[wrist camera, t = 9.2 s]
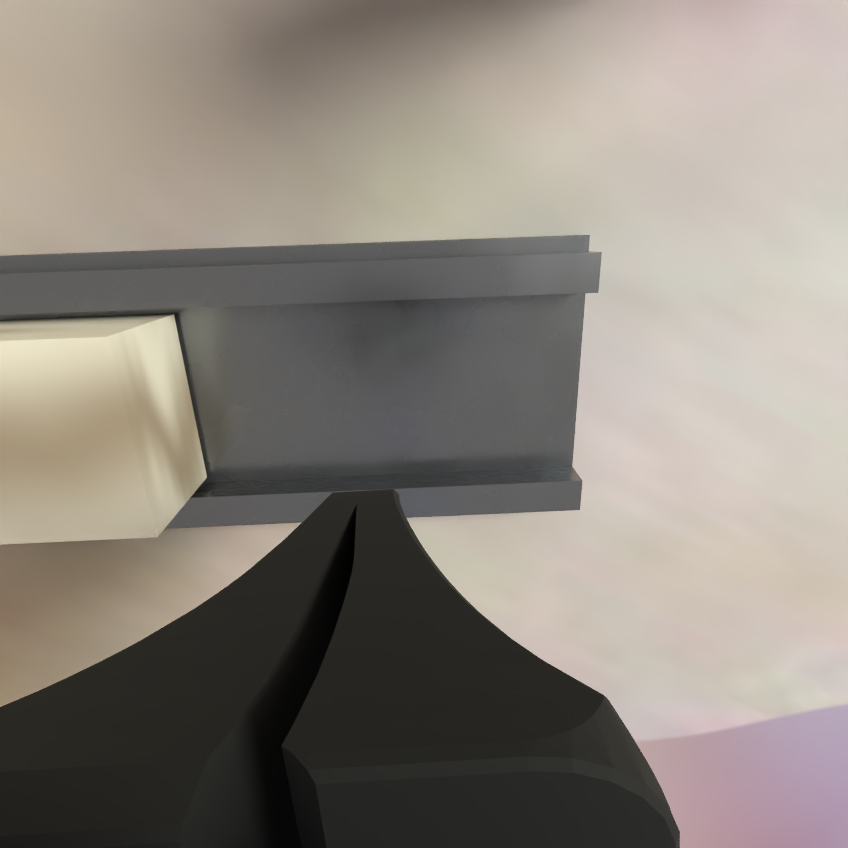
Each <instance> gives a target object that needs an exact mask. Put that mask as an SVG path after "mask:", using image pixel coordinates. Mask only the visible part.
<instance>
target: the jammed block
mask: <svg viewBox="0 0 848 848" xmlns="http://www.w3.org/2000/svg"><path fill="white" fill-rule="evenodd" d="M206 478H207V475H206V470H205V465H204V460H203V455H202V450H201V445H200V440H199V436H198V431H197V426H196V421H195V416H194V411H193V406H192V401H191V396H190V391H189V386H188V381H187V376H186V372H185V367H184V362H183V357H182V352H181V347H180V342H179V337H178V332H177V327H176V322H175V317H174V314H169V315H142V316H116V317H90V318H63V319H37V320H10V321H0V545H1V544H23V543H45V542H67V541H89V540H111V539H133V538H155V537H158V536H159V535H160V534H161V532H162V531H163V530H164V529H165V527H166V526H167V525H168V524H169V523H170V521H171V520H172V519H173V518H174V517H175V515H176V514H177V513H178V512H179V511H180V509H181V508H182V507H183V506H184V505H185V503H186V502H187V501H188V500H189V499H190V497H191V496H192V495H193V494H194V493H195V491H196V490H197V489H198V488H199V487H200V485H201V484H202V483H203V482H204V480H205V479H206Z"/></svg>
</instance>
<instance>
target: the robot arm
mask: <svg viewBox="0 0 848 848" xmlns="http://www.w3.org/2000/svg"><path fill="white" fill-rule="evenodd" d="M679 834H680V832H679V830H678V827H677V825H676V822H675V820H674V818H673V816H672V813H671V810H670V807H669V805H668V803H667V800H666V798H665V796H664V793H663V791H662V789H661V787H660V785H659V783H658V781H657V779H656V778H655V775H654V773H653V772H652V770H651V768H650V766H649V764H648V762H647V761H646V759H645V757H644V756H643V754H642V752H641V751H640V749H639V748H638V746H637V744H636V742H635V741H634V739H633V737H632V736H631V734H630V733H629V731H628V729H627V728H626V726H625V725H624V723H623V722H622V720H621V719H620V717H619V715H618V714H617V712H616V711H615V709H614V708H613V706H612V705H611V703H610V702H609V700H608V699H607V698H606V697H605V696H604V695H602V694H601V693H599V692H597V691H595V690H594V689H592V688H590V687H588V686H587V685H585V684H583V683H581V682H580V681H578V680H576V679H574V678H573V677H571V676H569V675H567V674H566V673H564V672H562V671H560V670H559V669H557V668H555V667H553V666H552V665H550V664H548V663H546V662H545V661H543V660H542V659H540V658H538V657H537V656H535V655H534V654H533V653H531V652H530V651H528V650H527V649H525V648H524V647H522V646H521V645H520V644H518V643H517V642H515V641H514V640H512V639H511V638H510V637H508V636H507V635H506V634H505V633H504V632H502V631H501V630H500V629H499V628H498V627H496V626H495V625H494V624H493V623H491V622H490V621H489V620H488V619H487V618H485V617H484V616H483V615H482V614H481V613H479V612H478V611H477V610H476V609H475V608H474V607H473V606H472V605H471V604H470V603H469V602H468V601H467V600H466V599H465V598H464V597H463V596H462V595H461V594H460V593H459V592H458V591H457V590H456V588H455V587H454V586H453V585H452V584H451V583H450V582H449V581H448V580H447V578H446V577H445V576H444V575H443V574H442V572H441V571H440V570H439V569H438V567H437V566H436V565H435V563H434V562H433V561H432V559H431V558H430V557H429V555H428V554H427V553H426V551H425V550H424V548H423V547H422V545H421V543H420V542H419V540H418V538H417V537H416V535H415V533H414V532H413V530H412V528H411V527H410V525H409V523H408V521H407V519H406V516H405V514H404V512H403V510H402V507H401V504H400V498H399V494H398V493H397V492H396V491H395V490H394V489H388V490H370V491H351V492H333V493H332V494H330V495H329V496H328V497H327V498H326V499H325V500H324V501H323V502H322V503H321V504H320V505H319V506H318V507H317V508H316V509H315V510H314V511H313V512H312V513H311V514H310V515H309V516H308V517H307V518H306V519H305V520H304V521H303V522H302V523H301V524H300V525H299V526H298V527H297V528H296V529H295V530H294V531H293V532H292V533H291V534H290V535H289V536H288V537H287V538H286V539H285V540H283V541H282V542H281V543H280V544H279V545H278V546H276V547H275V548H274V549H273V550H272V551H271V552H269V553H268V554H267V555H266V556H265V557H264V558H262V559H261V560H260V561H259V562H258V563H257V564H255V565H254V566H253V567H252V568H251V569H250V570H248V571H247V572H246V573H244V574H243V575H242V576H241V577H239V578H238V579H237V580H235V581H234V582H232V583H231V584H230V585H228V586H227V587H226V588H224V589H223V590H221V591H220V592H218V593H217V594H216V595H214V596H213V597H211V598H210V599H208V600H207V601H205V602H204V603H202V604H201V605H199V606H198V607H196V608H195V609H193V610H192V611H190V612H188V613H187V614H185V615H183V616H181V617H180V618H178V619H176V620H175V621H173V622H171V623H170V624H168V625H166V626H165V627H163V628H161V629H159V630H158V631H156V632H154V633H153V634H151V635H149V636H148V637H146V638H144V639H143V640H141V641H139V642H137V643H135V644H134V645H132V646H130V647H128V648H126V649H124V650H122V651H120V652H118V653H116V654H114V655H113V656H111V657H109V658H107V659H105V660H103V661H101V662H99V663H97V664H95V665H93V666H91V667H89V668H87V669H84V670H82V671H80V672H78V673H76V674H74V675H72V676H70V677H68V678H66V679H64V680H62V681H59V682H57V683H55V684H53V685H51V686H48V687H46V688H44V689H42V690H40V691H38V692H35V693H33V694H30V695H28V696H26V697H23V698H21V699H18V700H16V701H14V702H11V703H9V704H7V705H4V706H2V707H0V848H680V847H679V845H680V844H679V842H680V840H679V839H680V835H679Z"/></svg>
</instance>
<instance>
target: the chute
mask: <svg viewBox="0 0 848 848" xmlns="http://www.w3.org/2000/svg"><path fill="white" fill-rule="evenodd" d="M589 237H590V235H572V236H544V237H516V238H488V239H460V240H431V241H403V242H375V243H347V244H319V245H291V246H263V247H235V248H207V249H179V250H151V251H123V252H95V253H67V254H39V255H11V256H0V321H10V320H37V319H63V318H90V317H116V316H142V315H169V314H174V317H175V322H176V327H177V332H178V337H179V342H180V347H181V352H182V357H183V362H184V367H185V372H186V376H187V381H188V386H189V391H190V396H191V401H192V406H193V411H194V416H195V421H196V426H197V431H198V436H199V440H200V445H201V450H202V455H203V460H204V465H205V470H206V475H207V478H206V479H205V480H204V482H203V483H202V484H201V485H200V487H199V488H198V489H197V490H196V491H195V493H194V494H193V495H192V496H191V497H190V499H189V500H188V501H187V502H186V503H185V505H184V506H183V507H182V508H181V509H180V511H179V512H178V513H177V514H176V515H175V517H174V518H173V519H172V520H171V521H170V523H169V524H168V525H167V526H166V527H165V529H166V528H188V527H210V526H233V525H255V524H277V523H299V522H303V521H304V520H305V519H306V518H307V517H308V516H309V515H310V514H311V513H312V512H313V511H314V510H315V509H316V508H317V507H318V506H319V505H320V504H321V503H322V502H323V501H324V500H325V499H326V498H327V497H328V496H329V495H330V494H332V493H333V492H351V491H370V490H388V489H394V490H395V491H396V492H397V493H398V494H399V498H400V504H401V507H402V510H403V512H404V514H405V516H406V518H410V517H432V516H454V515H476V514H499V513H521V512H543V511H565V510H580V501H581V490H582V480H581V478H580V477H579V475H578V474H577V473H576V471H575V470H574V468H573V467H572V461H573V448H574V435H575V422H576V409H577V395H578V382H579V369H580V356H581V343H582V330H583V316H584V303H585V293H598V289H599V277H600V265H601V253H602V252H591V251H589Z"/></svg>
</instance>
